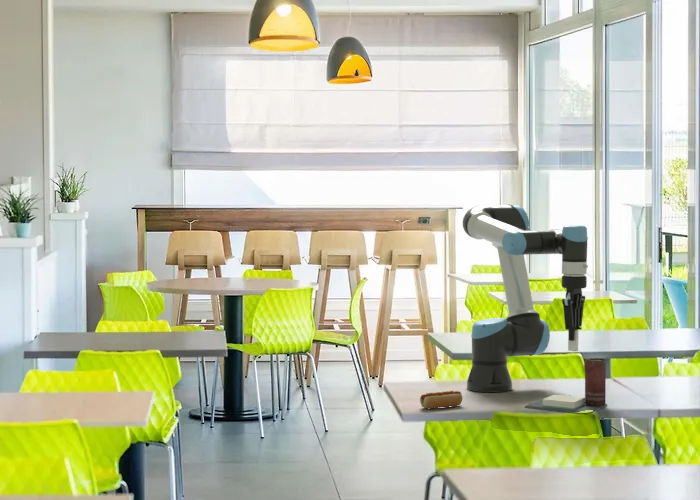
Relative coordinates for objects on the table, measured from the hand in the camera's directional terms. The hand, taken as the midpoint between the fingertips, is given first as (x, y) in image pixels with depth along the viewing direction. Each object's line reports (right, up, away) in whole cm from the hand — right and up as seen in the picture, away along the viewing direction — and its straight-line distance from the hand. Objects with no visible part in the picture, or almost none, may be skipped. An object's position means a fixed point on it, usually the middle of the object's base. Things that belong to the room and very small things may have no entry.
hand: (573, 350), depth 332 cm
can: (+5, -16, -6) cm, 18 cm away
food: (-41, -17, -5) cm, 45 cm away
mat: (-3, -17, -5) cm, 18 cm away
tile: (-2, -15, -3) cm, 15 cm away
